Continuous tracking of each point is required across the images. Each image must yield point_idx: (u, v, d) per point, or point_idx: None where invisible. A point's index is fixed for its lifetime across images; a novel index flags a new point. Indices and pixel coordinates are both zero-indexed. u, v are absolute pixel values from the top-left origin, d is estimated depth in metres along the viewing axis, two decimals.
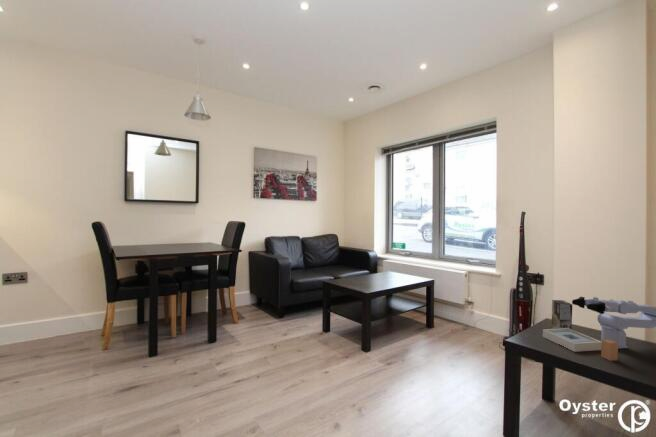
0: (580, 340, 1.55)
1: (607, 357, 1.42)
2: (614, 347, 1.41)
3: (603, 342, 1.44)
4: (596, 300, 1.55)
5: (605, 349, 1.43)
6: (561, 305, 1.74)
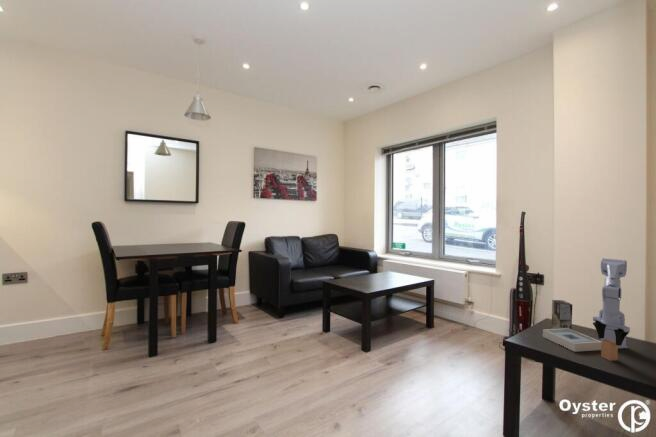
0: (580, 340, 1.55)
1: (607, 357, 1.42)
2: (614, 347, 1.41)
3: (603, 342, 1.44)
4: (607, 324, 1.42)
5: (605, 349, 1.43)
6: (561, 305, 1.74)
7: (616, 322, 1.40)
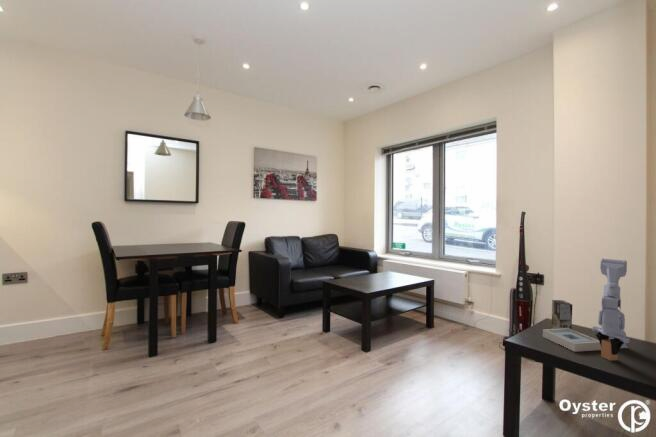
0: (580, 340, 1.55)
1: (607, 357, 1.42)
2: None
3: (603, 342, 1.44)
4: (606, 334, 1.42)
5: (605, 349, 1.43)
6: (561, 305, 1.74)
7: (616, 333, 1.40)
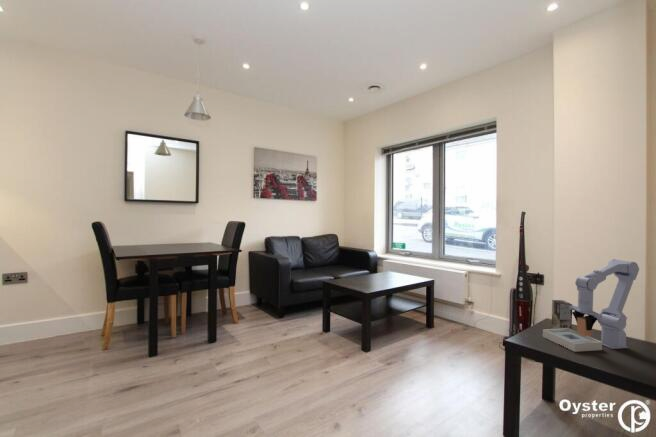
0: (580, 340, 1.55)
1: (582, 333, 1.52)
2: None
3: (579, 319, 1.54)
4: (582, 312, 1.52)
5: (580, 326, 1.53)
6: (561, 305, 1.74)
7: (590, 310, 1.51)
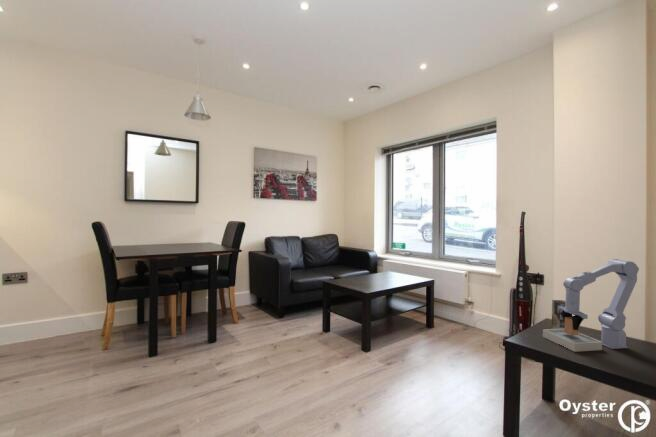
0: (580, 340, 1.55)
1: (569, 332, 1.58)
2: None
3: (566, 319, 1.60)
4: (569, 312, 1.58)
5: (567, 325, 1.59)
6: (561, 305, 1.74)
7: (576, 310, 1.57)
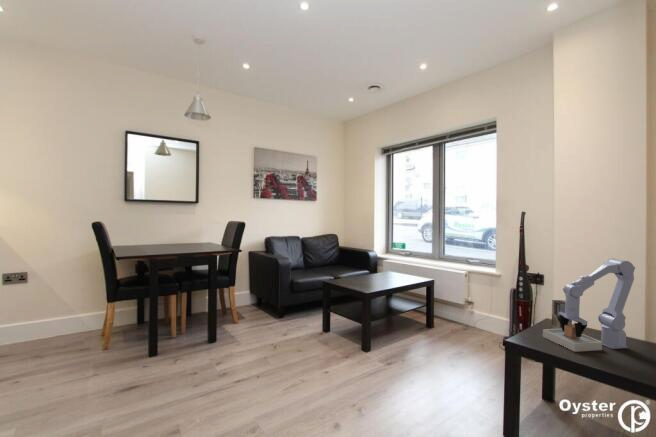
0: (580, 340, 1.55)
1: None
2: (575, 331, 1.58)
3: (565, 327, 1.60)
4: None
5: (567, 333, 1.59)
6: (561, 305, 1.74)
7: (576, 316, 1.57)
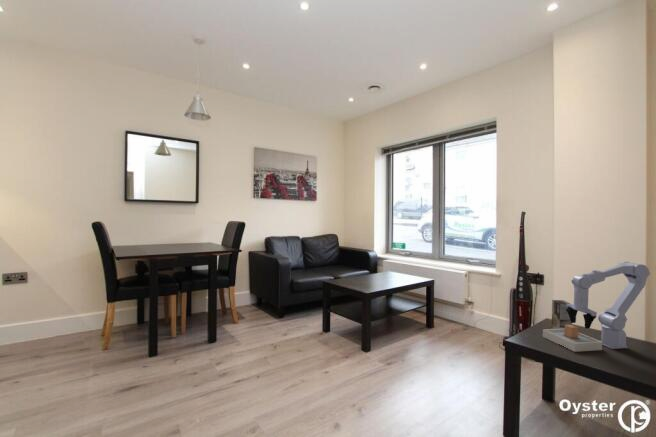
0: (580, 340, 1.55)
1: None
2: (575, 331, 1.58)
3: (565, 327, 1.60)
4: (577, 309, 1.58)
5: (567, 333, 1.59)
6: (561, 305, 1.74)
7: (585, 308, 1.56)
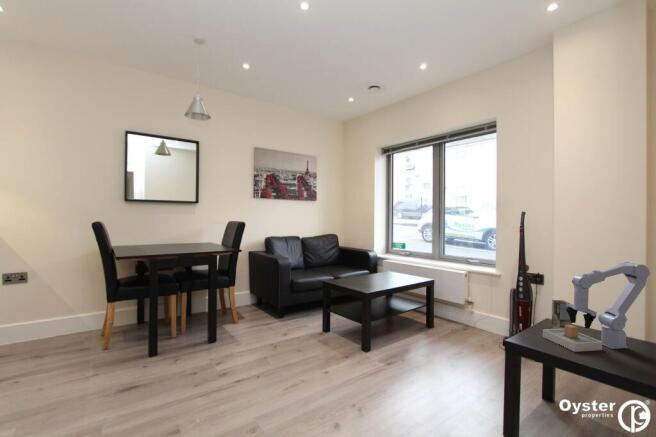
0: (580, 340, 1.55)
1: None
2: (575, 331, 1.58)
3: (565, 327, 1.60)
4: (577, 309, 1.58)
5: (567, 333, 1.59)
6: (561, 305, 1.74)
7: (585, 308, 1.56)
